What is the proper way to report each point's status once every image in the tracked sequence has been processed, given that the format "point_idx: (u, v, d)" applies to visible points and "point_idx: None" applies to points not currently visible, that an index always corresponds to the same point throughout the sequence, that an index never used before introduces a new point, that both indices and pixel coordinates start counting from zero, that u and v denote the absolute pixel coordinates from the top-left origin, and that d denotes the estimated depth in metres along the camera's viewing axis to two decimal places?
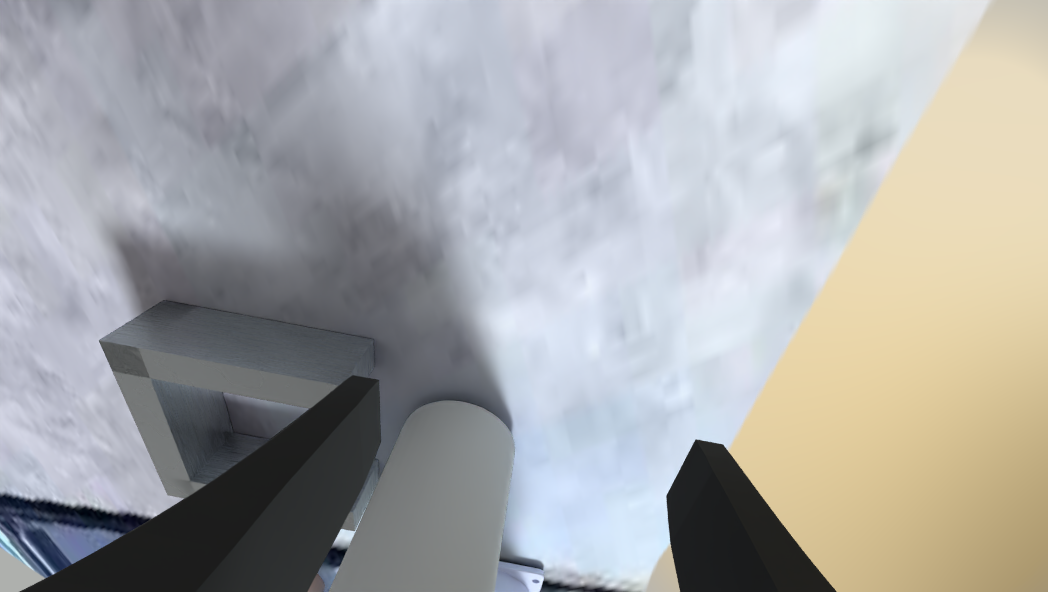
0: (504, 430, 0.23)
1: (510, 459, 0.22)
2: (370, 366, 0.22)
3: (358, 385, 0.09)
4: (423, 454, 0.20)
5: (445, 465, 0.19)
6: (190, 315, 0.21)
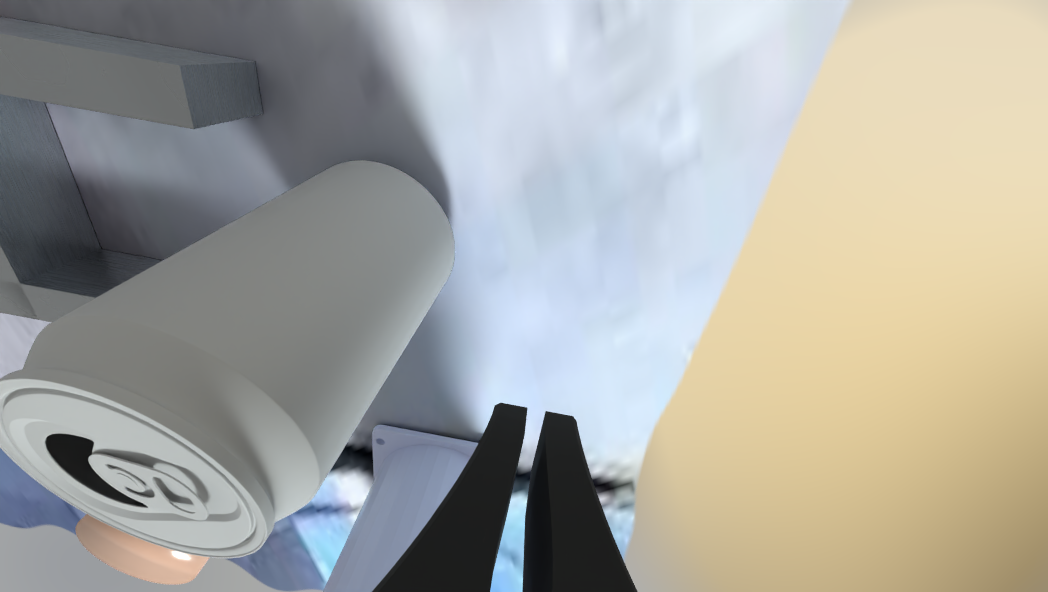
0: (434, 206, 0.16)
1: (439, 243, 0.16)
2: (252, 103, 0.16)
3: (512, 414, 0.09)
4: (292, 193, 0.13)
5: (319, 200, 0.13)
6: None
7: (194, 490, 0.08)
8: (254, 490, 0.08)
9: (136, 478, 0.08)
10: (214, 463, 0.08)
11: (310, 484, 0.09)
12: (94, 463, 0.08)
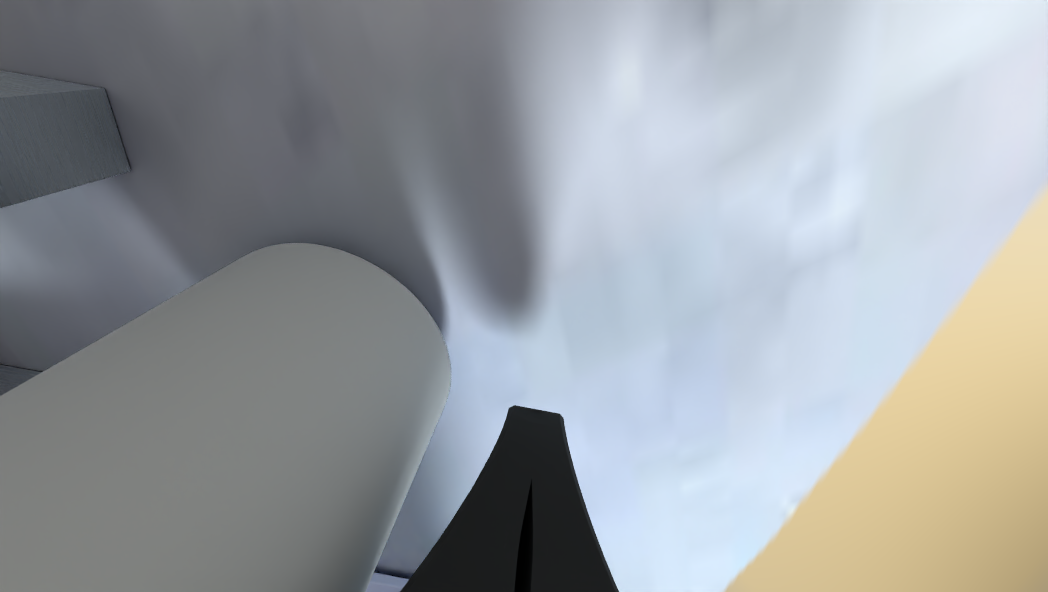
0: (416, 312, 0.10)
1: (426, 376, 0.09)
2: (105, 157, 0.10)
3: (527, 417, 0.09)
4: (139, 325, 0.07)
5: (180, 347, 0.06)
6: None
7: None
8: None
9: None
10: None
11: None
12: None
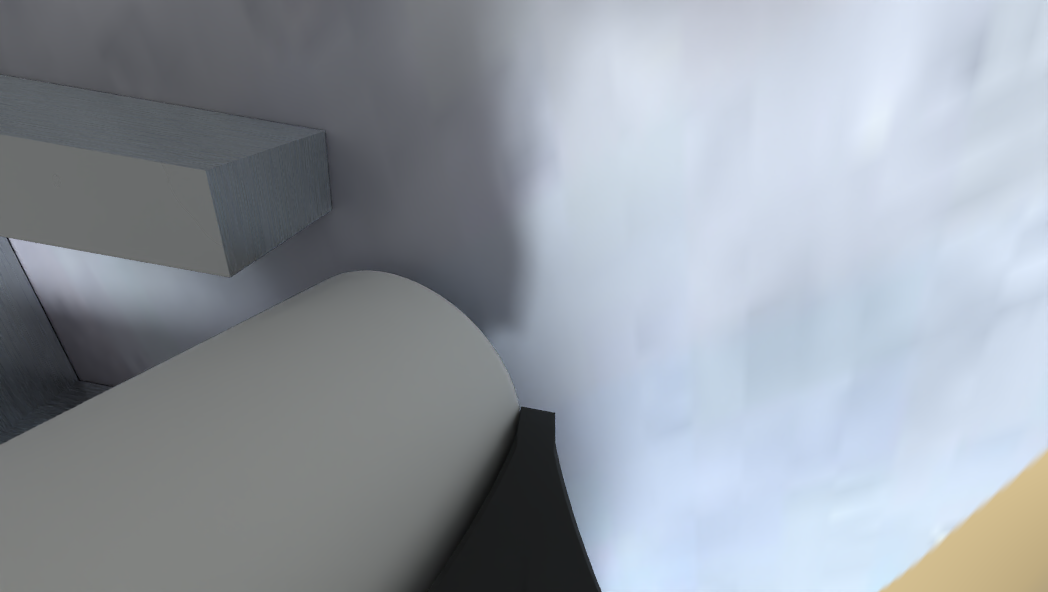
0: (488, 362, 0.09)
1: (489, 440, 0.08)
2: (319, 198, 0.10)
3: (541, 420, 0.09)
4: (204, 351, 0.07)
5: (229, 385, 0.06)
6: None
7: None
8: None
9: None
10: None
11: None
12: None
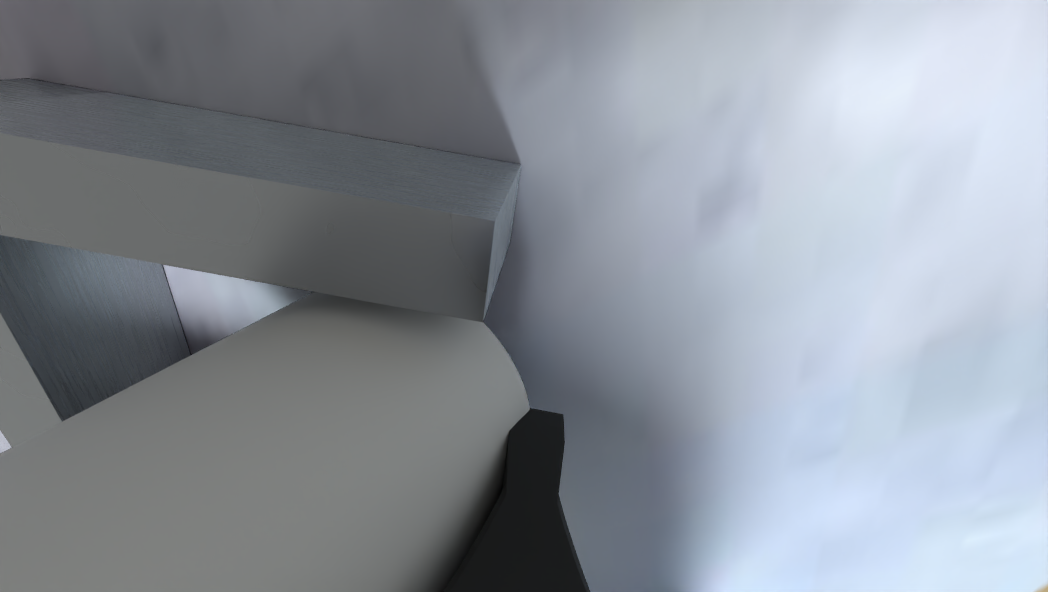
0: (500, 365, 0.09)
1: (501, 442, 0.08)
2: (510, 231, 0.10)
3: (550, 421, 0.09)
4: (220, 351, 0.07)
5: (245, 386, 0.06)
6: (82, 97, 0.09)
7: None
8: None
9: None
10: None
11: None
12: None
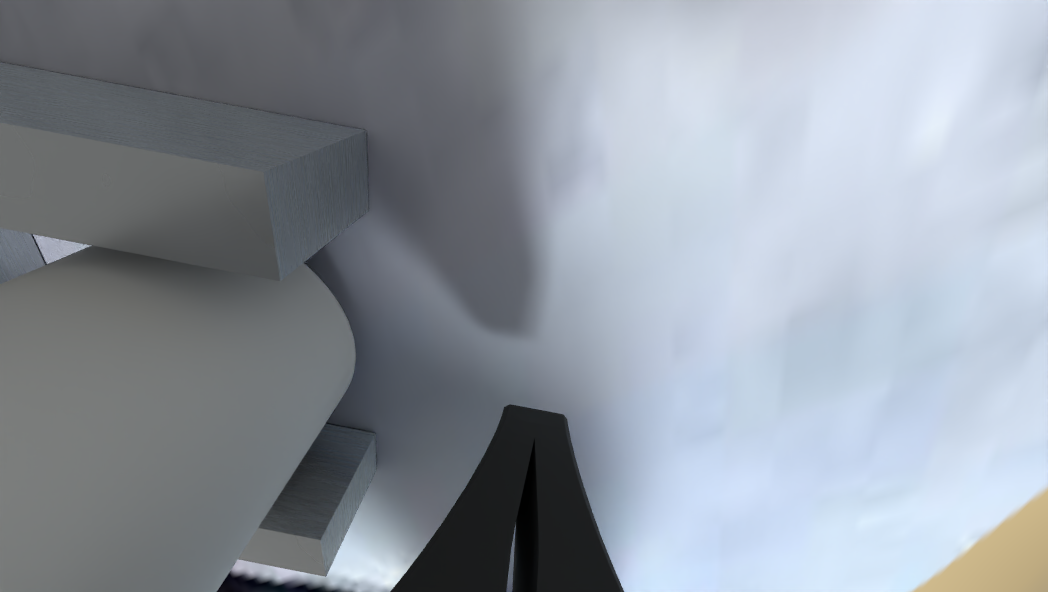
0: (311, 285, 0.10)
1: (318, 347, 0.10)
2: (358, 199, 0.09)
3: (523, 416, 0.09)
4: None
5: (27, 309, 0.06)
6: None
7: None
8: None
9: None
10: None
11: None
12: None
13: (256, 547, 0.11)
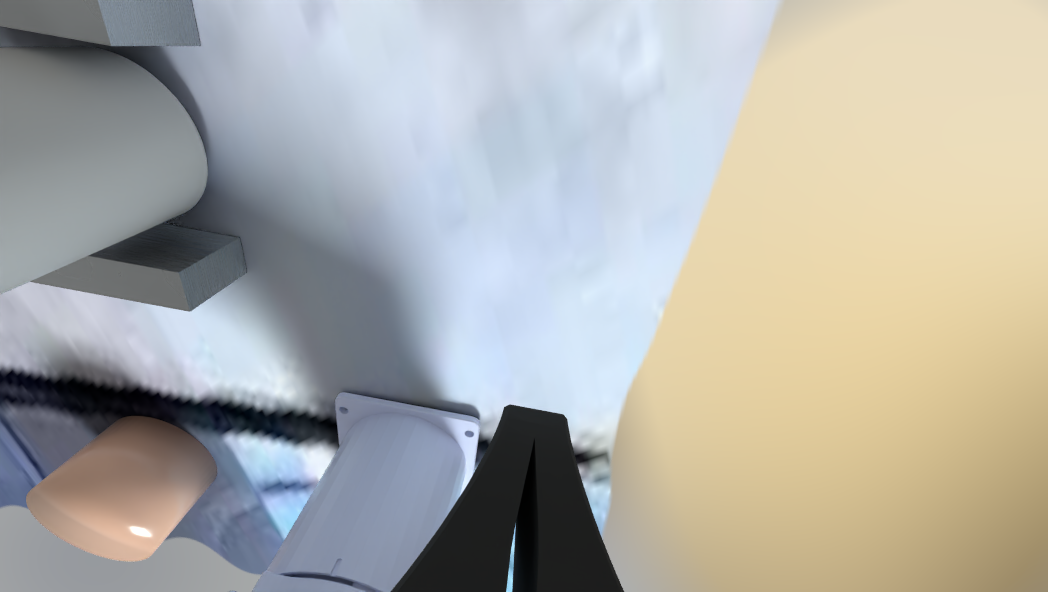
0: (162, 93, 0.16)
1: (163, 128, 0.15)
2: (187, 31, 0.15)
3: (523, 416, 0.09)
4: None
5: None
6: None
7: None
8: None
9: None
10: None
11: None
12: None
13: (140, 285, 0.17)
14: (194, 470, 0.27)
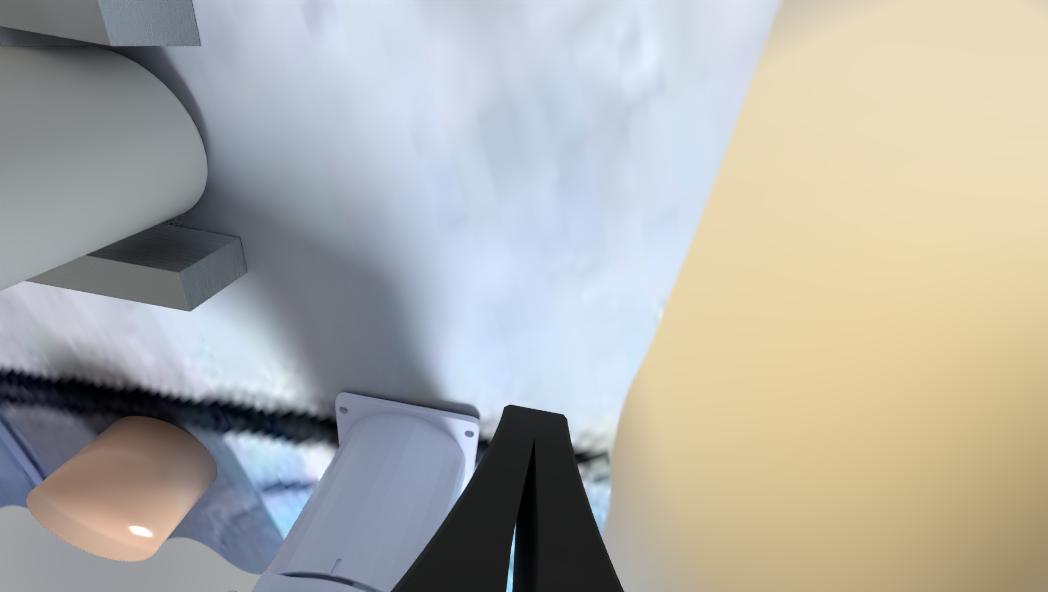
0: (163, 93, 0.16)
1: (164, 127, 0.15)
2: (187, 31, 0.15)
3: (523, 416, 0.09)
4: None
5: None
6: None
7: None
8: None
9: None
10: None
11: None
12: None
13: (140, 285, 0.17)
14: (195, 470, 0.27)
